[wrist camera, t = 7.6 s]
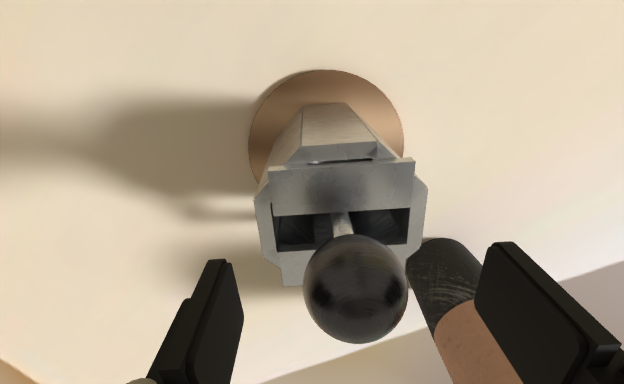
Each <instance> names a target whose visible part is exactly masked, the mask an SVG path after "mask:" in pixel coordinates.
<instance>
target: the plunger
mask: <svg viewBox="0 0 624 384" xmlns="http://www.w3.org/2000/svg"><path fill="white" fill-rule="evenodd" d="M362 160H367V158H362V159H347V160H332V161H317V162H308V163H307V164H316V163H332V162H347V161H362ZM330 217H331V223H332V230H333V236H334V238H332V239H330V240H328V241H327V242H325V243H324V244H322V245H321V246H320V247H319V248H318V249H317V250H316V251H315V252H314V254H313V255H312V256H311V258H310V260H309V262H308V264H307V266H306V269H305V273H304V278H303V295H304V300H305V304H306V307H307V309H308V311H309V313H310V315H311V317H312V318H313V320H314V321H315V323H316V324H317V325H318V326H319V327H320V328H321V329H322V330H323V331H324V332H325V333H327V334H328V335H330V336H331V337H333V338H335V339H337V340H340V341H343V342H347V343H352V344H364V343H370V342H373V341H376V340H378V339H380V338H382V337H384V336H385V335H387V334H388V333H389V332H391V331H392V330H393V329H394V328H395V327H396V325H397V324H398V323H399V321H400V320H401V318H402V316H403V314H404V312H405V309H406V305H407V301H408V283H407V277H406V274H405V271H404V268H403V266H402V264H401V262H400V261H399V259H398V258H397V256H396V255H395V254H394V253H393V251H392V250H391V249H390V248H388V247H387V246H386V245H385V244H383V243H382V242H380V241H378V240H377V239H374V238H372V237H369V236H366V235H361V234H353V230H352V226H351V222H350V219H349V215H348V212H333V213H330Z"/></svg>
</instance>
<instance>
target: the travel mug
mask: <svg viewBox="0 0 624 384" xmlns="http://www.w3.org/2000/svg"><path fill="white" fill-rule="evenodd" d="M419 247H420V248H419V249H418V250H417V251H416V252H414V253H413V254H412V255H411V256H409V258H408V260H407V264H406V272H407V276H408V279H409V281H410V284H411V286H412V289H413V291H414V293H415V296H416V298H417V301H418V303H419V306H420V308H421V310H422V313H423V315H424V318H425V320H426V323H427V325H428V327H429V330H430V332H431V334H432V337H433V340H434V342H435V344H436V346H437V348H438V351H439V353H440V355H441V357H442V360H443V362H444V364H445V366H446V368H447V370H448V373H449V375H450V377H451V379H452V381H453V383H454V384H523V382H522V381H521V379H520V378H519V376H518V375H517V373H516V371H515V370H514V368H513V367H512V365H511V364H510V362H509V361H508V359H507V357H506V356H505V354H504V353H503V351H502V350H501V348H500V347H499V345H498V343H497V342H496V340H495V339H494V337H493V336H492V334H491V333H490V331H489V330H488V328H487V326H486V325H485V323H484V322H483V320H482V319H481V317H480V316H479V314H478V312H477V311H476V309H475V306H474V297H475V293H476V290H477V286H478V282H479V278H480V275H481V271H482V267H483V266H482V265H481V264H480V262H479V261H478V260H477V259H476V258H475V257H474V256H473V255H472V254H471V253H470V252H469V250H468V249H467V248H466V247H465V246H464V245H462V244H461V243H459V242H458V241H455V240H452V239H446V238H440V239H434V240H431V241H428V242H426V243H423V244H422V245H421V246H419Z"/></svg>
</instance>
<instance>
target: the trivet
mask: <svg viewBox="0 0 624 384" xmlns="http://www.w3.org/2000/svg"><path fill="white" fill-rule="evenodd" d="M331 103H347V104H348V105H349V106H350V107H351V108H352V109H353V110H354V111H355V112H356V113H357V114H358V115H360V116H361V117H362V118H363V119H364V120H365V121H366V122H367V123H368V124H369V125H370V126H371V127H372V128H373V129H374V130H375V131H376V132H377V133H378V134H379V135H380V136H381V137H382V138H383V140H384V141H385V142H386V143H387V144H388V145H389V146H390V147H391V148H392V149H393V150H394V151H395V153H396V154H397V155H398V156H399V157H400V158H402V157H403V150H404V137H403V130H402V126H401V122H400V119H399V117H398V114H397V112H396V110H395V108H394V107H393V105H392V103H391V102H390V100H389V99H388V98H387V97H386V96H385V94H384V93H383V92H382V91H380V90H379V89H378V88H377V87H376V86H375V85H373V84H372V83H370V82H369V81H367V80H365V79H363V78H361V77H359V76H357V75H354V74H350V73H347V72H343V71H336V70H320V71H312V72H308V73H305V74H301V75H299V76H297V77H294V78H292V79H290V80H288V81H287V82H285V83H284V84H282V85H281V86H279V87H278V88H277V89H276V90H275V91H273V92H272V94H271V95H270V96H269V97H268V98H267V99H266V100H265V101H264V103H263V104H262V106H261V107H260V109H259V110H258V112H257V114H256V116H255V118H254V121H253V124H252V127H251V130H250V136H249V148H248V150H249V160H250V164H251V168H252V171H253V174H254V176H255V178H256V180H257V182H258V184H259V183H260V180H261V178H262V175H263V172H264V169H265V166H266V164H267V161H268V158H269V155H270V153H271V150H272V147H273V144H274V141H275V139H276V136H277V135H278V134H279V133H280V132H281V130H282V129H283V128H284V127H285V126H286V125H287V123H288V122H289V121H290V120H291V119H292V117H293V116H294V115H295V114H296V113H297V111H298V110H299V109H300V108H301V107H303V105H316V104H331Z"/></svg>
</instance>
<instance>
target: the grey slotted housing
mask: <svg viewBox="0 0 624 384" xmlns="http://www.w3.org/2000/svg"><path fill="white" fill-rule="evenodd" d="M362 158H367V160H362V161H347V162H332V163H316V164H307V163H308V162H317V161H332V160H347V159H362ZM414 171H415V161H414V160H413V159H412V158H411V157H408V158H400V157H399V156H398V155H397V154H396V153H395V151H394V150H393V149H392V148H391V147H390V146H389V145H388V144H387V143H386V142H385V141H384V140H383V138H382V137H381V136H380V135H379V134H378V133H377V132H376V131H375V130H374V129H373V128H372V127H371V126H370V125H369V124H368V123H367V122H366V121H365V120H364V119H363V118H362V117H361V116H360V115H358V114H357V113H356V112H355V111H354V110H353V109H352V108H351V107H350V106H349V105H348V104H347V103H331V104H316V105H303V107H301V108H300V109H299V110H298V111H297V113H296V114H295V115H294V116H293V117H292V119H291V120H290V121H289V122H288V123H287V125H286V126H285V127H284V128H283V129H282V130H281V132H280V133H279V134H278V135H277V136H276V139H275V141H274V144H273V147H272V150H271V153H270V155H269V158H268V161H267V164H266V166H265V169H264V172H263V175H262V178H261V180H260V183H259V186H258V189H257V192H256V194H255V197H254V206H255V212H256V218H257V224H258V230H259V236H260V242H261V248H262V254H263V256H264V258H265V259H266V260H268V261H269V262H271V263H272V264H274V265H276V266H277V267H279V268H280V269H281V273H282V281H283V287H288V286H303V278H304V273H305V269H306V266H307V264H308V262H309V260H310V258H311V256H312V255H313V254H314V252H315V251H316V250H317V249H318V248H319V247H320V246H321V245H322V244H324V243H325V242H327V241H328V240H330V239H332V238H334V236H333V230H332V223H331V217H330V213H333V212H348V215H349V219H350V222H351V226H352V230H353V234H361V235H366V236H369V237H372V238H374V239H377V240H378V241H380V242H382V243H383V244H385V245H386V246H387V247H388V248H390V249H391V250H392V251H393V253H394V254H395V255H396V256H397V258H398V259H399V261H400V262H401V264H402V266H403V268H404V271H405V263H406V259H407V258H408V257H409V256H411V255H412V254H413V253H414V252H416V251H417V250H418V249H419V248H420V247H419V246H421V242H422V234H423V226H424V218H425V210H426V202H427V194H428V189H427V186H426V185H425V184H424V183H423V182H422V181H421V180H420V178H419V177H418V176H417V175H416V174H415V173H414Z"/></svg>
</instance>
